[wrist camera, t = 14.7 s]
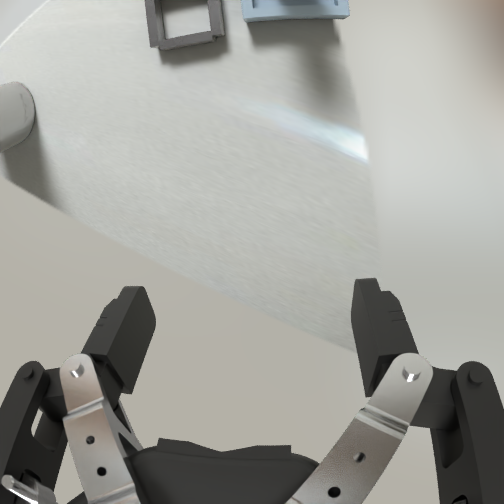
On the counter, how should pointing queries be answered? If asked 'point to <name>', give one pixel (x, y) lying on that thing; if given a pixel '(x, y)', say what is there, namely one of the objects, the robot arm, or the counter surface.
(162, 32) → the grey square holder
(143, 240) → the counter surface
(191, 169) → the counter surface
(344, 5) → the tray
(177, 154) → the counter surface
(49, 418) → the robot arm
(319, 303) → the counter surface
